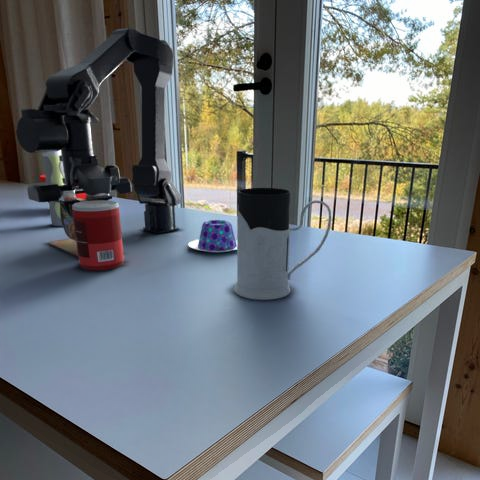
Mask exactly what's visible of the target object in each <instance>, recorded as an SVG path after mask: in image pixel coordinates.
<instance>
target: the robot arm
mask: <svg viewBox="0 0 480 480" xmlns="http://www.w3.org/2000/svg"><path fill="white" fill-rule="evenodd" d="M124 61H126V62H128V63H130V64H132V66H133V73H134V75H135V77H136V79H137V81H138V83H139V85H140V88H141V89H140V91H141V92H140V93H141V94H140V95H141V157H140V160H139V162H138V163H137V164H133V165H132V168H131V171H132V180H130V179H129V178H128V177H124V176H120V175H121V174H120V169H119V166H118V165H117V164H107V165H105V166H100V163H99V158H98V155H95V154H94V146H93V138H92V129H91V124H99V122H100V120H99V118H98V117H97V116H96V115H94V114H93V113H92V112H91V110H90V109H89V108H90V107H91V106H92V104H93V103H94V102H95V100H96V98H97V97H98V95H99V92H100V86H101V84H102V83H103V82H104V81H105V80H106V79H107V78H108V77H109V76H110V75H111V74H112V73H114V71H116V70H117V68H118V67H120V65H122V64H123V63H124ZM174 63H175V54H174V50H173V49H172V47H171V46H170V44H169V43H168V41H166V40H165V39H159V38H157V37H152V36H150V35H147V34H144V33H141V32H140V31H138V30H136V29H133V28H131V27H129V28H119V29H115V30H113V31H112V32H111V33H110V35H109V36H108V37H107V38H106V39H105V40H104V41H103V42H102V43H101V44H100V45H99V46H97V47H96V48H95V49H94V50H93V51H91V52H90V53H89V54H88V55H87V56H86V57H85V58H83V60H82V61H80V62H79V63H77V64H75V65H74V66H73V65H72V66H71V67H67V68H65V69H62V70H60V71H58V72H56V73H54V74H52V75H50V76H48V78H47V79H46V82H45V86H46V89H45V91H44V94H43V96H42V98H41V100H40V103H39V105H38V107H37V109H35V108H22V109H20V113H21V117H20V118H19V119H18V122H17V126H16V130H15V132H16V133H15V135H16V139H17V142H18V144H19V145H20V147H21V148H22V149H23V150H24V151H25V152H27V153H29V154H35V153H42V152H50V151H59V150H61V155H59V160H60V161H62V162H63V170H64V177H65V178H62V181H63V184H66V185H59V186H58V184H55V183H50V182H43V183H41V182H32V183H29V184H28V185H27V189H26V190H27V191H26V192H27V197H28V200H31V201H34V202H37V203H48V202H51V201H54V202H58V203H60V205H61V206H62V207H63V209H64V210H65V212H66V213H67V214H68V216H69V218H70V220H71V221H72V223H73V225H74V220H73V212H72V205H73V204H75V203H78V202H80V200H77V199H76V197H75V194H81V193H86V194H88V195H86V198H87V201H96V200H107V201H110V200H113V195H110V194H111V193H112V191H115V192H116V193H117V194H119V195H122V194H130V193H133V190H134V192H135V193H136V197H137V199H138V202H139V205H140V204H141V205H144V209H145V210H144V212H143V218H144V219H143V220H144V226H143V227H142V229H143V230H144V231H147V232H150V233H155V234H162V233H163V234H164V233H169V232H175V231H179V230H181V229H180V227H179V226H177V224H176V210H175V208H176V207H177V206H178V205H180V204H181V198H182V194H181V193H180V191H179V190H178V189H177V188H176V186H175V185H174V183H173V179H172V171H171V169H170V167H169V165H168V163H167V161H166V158H165V126H166V125H165V118H166V117H165V115H166V114H165V113H166V111H165V110H166V108H165V106H166V103H165V102H166V101H165V100H166V99H165V97H166V87H167V86H168V84H169V82H170V80H171V78H172V76H173V72H174V71H173V70H174ZM132 184H133V186H132ZM77 186H78V187H77Z"/></svg>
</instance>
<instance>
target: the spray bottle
mask: <svg viewBox="0 0 480 480" xmlns="http://www.w3.org/2000/svg"><path fill="white" fill-rule="evenodd" d="M41 153H42V163H43V170H44V175H45V178H46V182H50V183H55V184H58V186H59V185H66V184H63V181H62V178H65V177H64V170H63V162H62V161H60V160H59V155H61V150H59V151H50V152H41ZM48 206H49V214H50V220H51V221H50V222H51V225H52V226H55V227H63V225H62V221H61V216H60V203H58V202H54V201H51V202H49V203H48Z"/></svg>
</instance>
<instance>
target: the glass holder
mask: <svg viewBox="0 0 480 480" xmlns="http://www.w3.org/2000/svg"><path fill="white" fill-rule="evenodd" d="M291 193H292V191H291V190H288V189H284V188H277V187H250V188H243V189H240V190H238V206H236V213H237V214H236V216H237V217H236V221H237V223H236V227H237V228H236V230H237V231H236V232H237V233H236V234H237V235H236V239H237V251H236V255H237V256H236V265H237V266H236V269H237V270H236V278H237V279H236V284H235V286H234V288H233V289H234V290H233V291H234V293H235V294H236V295H238V296H240V297H243V298H247V299H249V300H258V301H259V300H260V301H261V300H262V301H265V300H266V301H267V300H277V299H281V298H284V297H286V296H288V295H289V294H290V293H291V287H290V285H289V281H290V280H291V275H292V274H293V273H294V272H295V271H296V270H297V269H298V268H300V267H301V266H302V265H304V264H306V263H307V262H308V261H309V260H310V259H311V258H312V257H314V256H315V255H316V254H317V253H318V252H319V251H320V250H321V248H322V247H323V245H324V244H325V242H326V240H327V238H328V236H329V233H330V230H331V223H332V210H331V208H330V206H329V205H328V204H327V203H326V202H325V201H322V200H317V199H315V200H311V201H309V202H308V203H306V204H305V205H304V206H303V207H302V210H301V212H300V219H299V225H297V226H296V227H291V226H290V218H291V217H290V215H291V195H292V194H291ZM313 204H321V205H323V206H324V207H326V209H327V213H328V219H327V225H326V226H327V227H326V230H325V233H324V235H323V238H322V239H321V241H320V243H319V244H318V246H317V247H316V248H315V250H313V251H312V252H311V253H310V254H309V255H308V256H306V257H305V258H304V259H303V260H301V261H300V262H299V263H297V264H296V265H295V266H293V268H291V269H290V270H289V264H290V245H291V244H290V241H291V231H292V232H293V231H298V230H300V229H301V228H302V227H303V223H304V216H305V213H306V211H307V209H308V208H309V207H310V206H311V205H313Z"/></svg>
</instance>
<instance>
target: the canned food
mask: <svg viewBox="0 0 480 480" xmlns="http://www.w3.org/2000/svg"><path fill="white" fill-rule="evenodd" d="M72 212H73V220H74V228H75V235H76V242H77V249H78V256H79V257H78V256H77V257H78V262H79V264H80V267H81V268H82V269H84V270H87V271H108V270H114V269H116V268H119V267H120V266H122V265H124V260H125V257H124V245H123V236H122V235H123V234H122V225H121V224H122V223H121V216H120V215H121V214H120V206H119V202H118V201H116V200H115V201H114V200H108V201H107V200H96V201H84V202H78V203H75V204H73V205H72Z"/></svg>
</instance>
